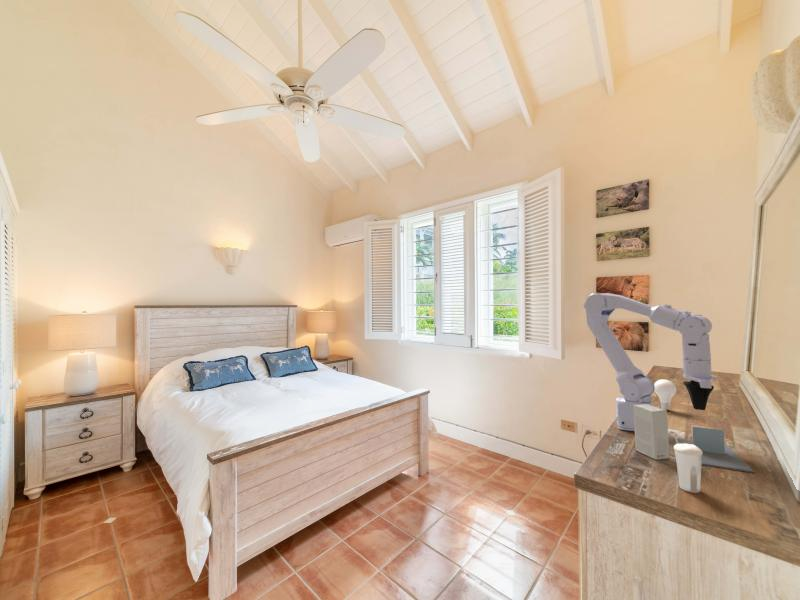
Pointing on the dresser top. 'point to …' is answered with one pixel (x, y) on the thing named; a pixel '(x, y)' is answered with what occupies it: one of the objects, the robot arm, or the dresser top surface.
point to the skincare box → (651, 431)
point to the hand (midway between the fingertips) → (699, 409)
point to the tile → (708, 439)
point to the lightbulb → (665, 392)
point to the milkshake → (688, 466)
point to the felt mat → (721, 459)
